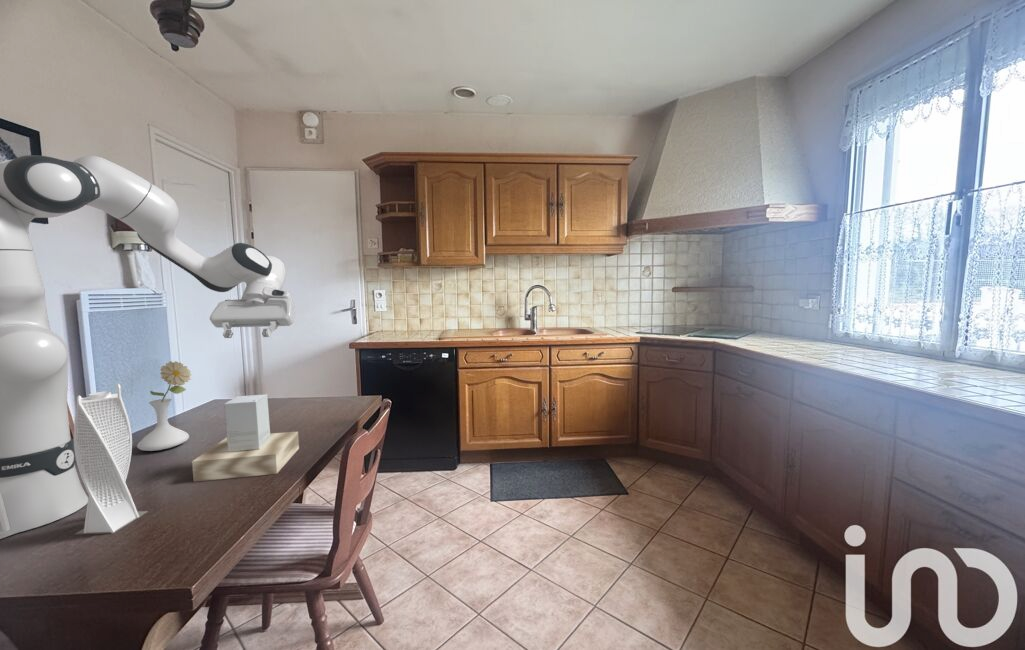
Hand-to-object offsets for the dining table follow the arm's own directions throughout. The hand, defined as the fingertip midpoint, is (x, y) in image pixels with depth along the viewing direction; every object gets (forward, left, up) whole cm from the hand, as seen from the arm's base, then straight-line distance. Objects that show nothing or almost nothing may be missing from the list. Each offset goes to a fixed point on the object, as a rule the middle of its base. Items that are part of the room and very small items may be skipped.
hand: (246, 336), depth 103 cm
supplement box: (+2, -7, -28) cm, 29 cm away
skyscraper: (-12, -30, -34) cm, 47 cm away
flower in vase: (-28, +13, -33) cm, 45 cm away
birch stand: (+2, -6, -33) cm, 34 cm away
